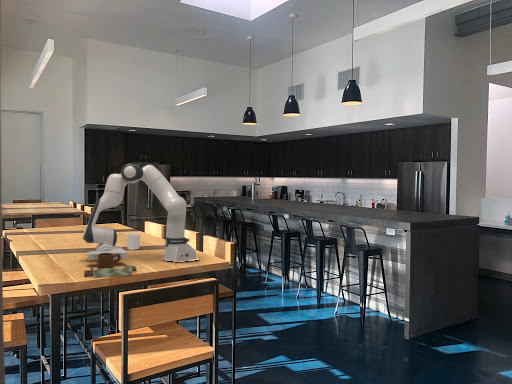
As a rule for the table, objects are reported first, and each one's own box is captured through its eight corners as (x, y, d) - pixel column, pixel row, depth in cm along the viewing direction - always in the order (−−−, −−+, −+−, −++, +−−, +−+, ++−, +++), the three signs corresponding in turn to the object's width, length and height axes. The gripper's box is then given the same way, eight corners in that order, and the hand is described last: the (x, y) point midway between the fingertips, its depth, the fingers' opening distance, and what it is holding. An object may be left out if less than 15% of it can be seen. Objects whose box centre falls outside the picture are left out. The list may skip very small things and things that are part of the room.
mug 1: (117, 268, 223) (117, 251, 222) (123, 271, 217) (123, 253, 217) (95, 271, 214) (95, 253, 214) (100, 274, 209) (101, 255, 208)
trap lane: (133, 267, 226) (133, 260, 226) (139, 274, 211) (139, 267, 210) (83, 270, 214) (83, 263, 214) (85, 278, 199) (85, 270, 199)
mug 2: (142, 248, 287) (142, 233, 286) (137, 250, 278) (137, 235, 277) (126, 247, 288) (127, 233, 287) (121, 249, 279) (121, 234, 278)
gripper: (86, 248, 229) (88, 252, 217) (124, 246, 238) (128, 251, 226) (85, 259, 229) (87, 264, 217) (123, 257, 238) (127, 262, 226)
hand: (108, 257), depth 221 cm, fingers closed
